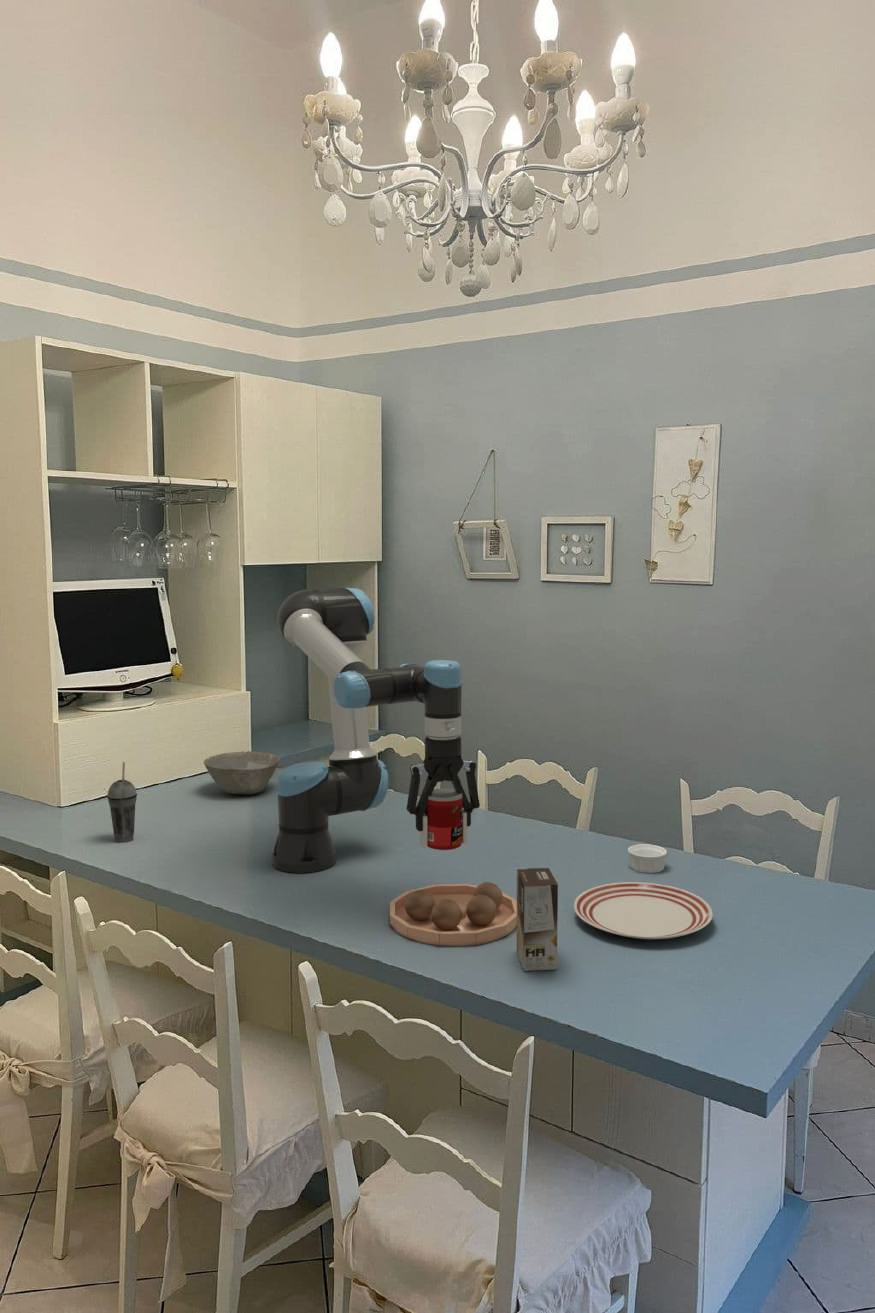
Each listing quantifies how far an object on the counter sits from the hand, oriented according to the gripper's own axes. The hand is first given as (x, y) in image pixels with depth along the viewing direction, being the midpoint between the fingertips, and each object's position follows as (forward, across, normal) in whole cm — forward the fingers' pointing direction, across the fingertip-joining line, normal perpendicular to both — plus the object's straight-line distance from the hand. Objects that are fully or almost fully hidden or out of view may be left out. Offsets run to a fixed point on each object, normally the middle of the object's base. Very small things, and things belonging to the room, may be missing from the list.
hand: (443, 843), depth 207 cm
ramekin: (+14, +52, +8) cm, 55 cm away
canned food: (0, 0, 0) cm, 0 cm away
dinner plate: (+14, +36, -19) cm, 43 cm away
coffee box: (+14, +8, -30) cm, 34 cm away
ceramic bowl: (+14, -30, +104) cm, 109 cm away
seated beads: (+13, 0, -8) cm, 15 cm away
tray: (+14, 0, -7) cm, 15 cm away
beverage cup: (+14, -64, +67) cm, 94 cm away
